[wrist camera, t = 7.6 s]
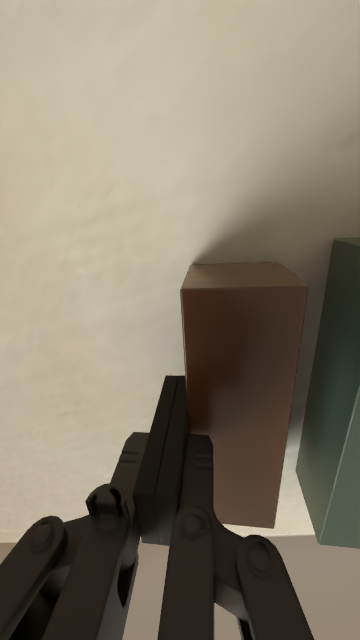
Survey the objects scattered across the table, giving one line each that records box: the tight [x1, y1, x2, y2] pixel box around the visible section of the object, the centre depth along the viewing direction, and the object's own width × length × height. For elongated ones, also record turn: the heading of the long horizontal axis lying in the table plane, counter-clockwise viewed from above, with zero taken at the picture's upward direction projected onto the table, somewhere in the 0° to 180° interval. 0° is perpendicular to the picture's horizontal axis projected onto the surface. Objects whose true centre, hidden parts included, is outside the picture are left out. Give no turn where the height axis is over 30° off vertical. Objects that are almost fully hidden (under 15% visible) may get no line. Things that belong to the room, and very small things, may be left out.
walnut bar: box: [180, 262, 308, 529], centre depth 14 cm, size 4×14×4 cm, turn 3°
